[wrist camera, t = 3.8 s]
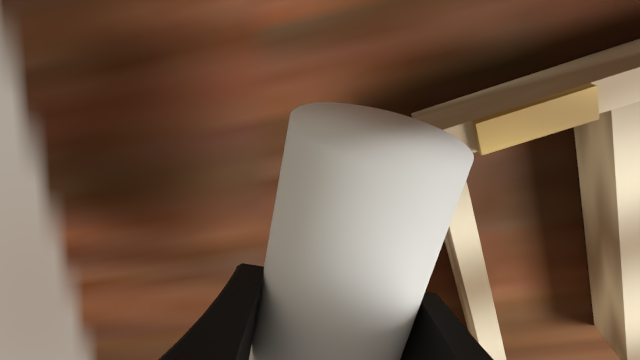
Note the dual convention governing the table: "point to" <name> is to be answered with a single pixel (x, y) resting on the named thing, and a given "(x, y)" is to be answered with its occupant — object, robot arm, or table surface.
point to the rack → (594, 176)
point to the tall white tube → (354, 232)
